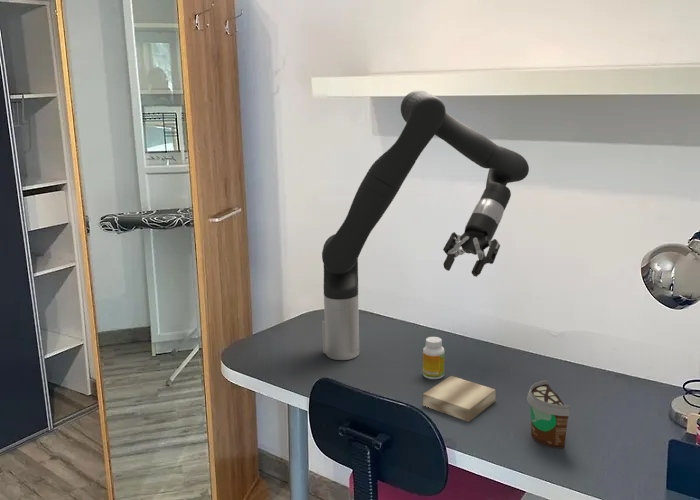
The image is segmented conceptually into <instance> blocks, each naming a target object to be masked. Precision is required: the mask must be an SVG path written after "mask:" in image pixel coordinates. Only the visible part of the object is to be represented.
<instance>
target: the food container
mask: <svg viewBox="0 0 700 500" xmlns="http://www.w3.org/2000/svg"><path fill="white" fill-rule="evenodd" d="M526 401H527V403H528V404H529V405H530V433H531V437H532V438H533V440H535V442H537V443H539V444H541V445H543V446H547V447H549V448H550V447H551V448H556V449H563V448H565V445H566V436H567V428H568V420H569V417H570V416H571V414H570V413H571V411H570V410H571V409H570V405H569V404H564V402H563V400H561V398H560V396H559V395H558V393H556V392H555V391H554V390H553V389H552V388H551V386H550V385H549V380H548V379H547V380H541V381H538V382H535V383H533V384H532V385H531V387H530V389H529V391H528V393H527V397H526Z"/></svg>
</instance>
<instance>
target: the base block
mask: <svg viewBox="0 0 700 500" xmlns="http://www.w3.org/2000/svg"><path fill="white" fill-rule="evenodd" d="M496 391H497V390H496V389H495V388H492V387H490V386H485V385H482V384H479V383H476V382H472V381H469V380H466V379H463V378H460V377H456V376H453V375H450V376H449V377H447V378H445V379H444V380H441V382H439V383H438V384H435V385H434V386H433V387H432V388H430V389H429V390H427V391H424V392H423V394H422V406H423V407H425V406H426V408H428V407H429V409H432V410H435V411H438V412H440V413H443V414H446V415H449V416H450V417H451V416H452V417H455V418H456V419H460V420H462V421H464V422H468V423H469V422H471V421H472V420H473V419H475V417H477V416H478V415H479V414H481V413H482V412H484V411H485V410H486V409H488V408H489V407H490V406H491V405H492V404H494V403H496V395H497V394H496V393H497V392H496Z"/></svg>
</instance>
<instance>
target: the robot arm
mask: <svg viewBox="0 0 700 500" xmlns="http://www.w3.org/2000/svg"><path fill="white" fill-rule="evenodd" d="M400 113H401V117H402V119H403V120H404V121H405V123H406V124H405V126H404V128H403V129H402V131H401V133H400V135H399V136H398V138H397V140H396V141H395V142H394V144H392V145H391V147H389V149H387V150H386V151H385V152H384V153H383V154H382V155H380V156H379V157H378V158H377V159H376V160H375V161H374V162H373V163H372V165H371V166H370V168H369V169H368V171H367V172H366V174H365V176H364V178H363V179H362V181H361V183H360V185H359V186H358V187H357V191H356V193H355V195H354V197H353V200H352V203H351V205H350V206H349V209H348V212H347V215H346V217H345V219H344V220H343V222H342V224H341V226H340V227H339V228H338V230H337V231H336V233H334V234H332V235H330V236H329V237H328V238H327V239H326V241H325V242H324V244H323V247H322V252H321V260H322V263H323V307H324V309H323V310H324V314H323V315H324V319H322V321H321V327H322V328H321V330H322V333H321V334H322V335H321V336H322V337H321V338H322V353H323V354H325V355H326V357H328V358H329V359H331V360H335V361H347V360H352V359H355V358H357V357H358V356H359V355H360V325H359V324H360V320H359V319H360V315H359V311H360V310H359V256H360V254H361V252H362V250H363V248H364V246H365V244H366V241H367V240H368V237H369V235H370V234H371V233H372V231H373V229H374V228H375V227H376V225H377V224H378V223H379V221H380V220H381V218H382V217H383V216H384V214H385V213H386V211H387V210H388V209H389V207H390V205H391V203H392V202H393V201H394V199H395V197H396V196H397V194H398V192H399V191H400V189H401V187H402V186H403V184H404V182H405V180H406V179H407V177H408V175H409V173H410V172H411V171H412V169H413V167H414V166H415V163H416V162H417V160H418V159H419V157H420V155H421V153H423V151H424V149H425V148H427V146H428V144H429V143H430V142H431V140H432V139H433V138H434V137H437V138H439V139H441V140H443V141H444V142H445V143H446V144H448V145H449V146H450V147H452V148H453V149H455V151H458V152H459V153H460V154H462V156H464V157H466V158H467V159H468V160H470V161H471V162H472V163H475V164H476V165H477V166H480V167H481V168H484V169H488V174H487V178H486V183H485V189H484V190H483V193H482V195H481V196H480V199H479V201H478V202H477V204H476V205H475V207H474V209H473V211H472V212H471V214H470V217H469V219H468V221H467V222H466V224H465V228H464V232H463V233H462V234H461V235H459V234H457V233H456V232H452V233H451V235H450V236H449V238H448V239H447V242H446V243H445V245H444V247H443V249H442V250H443V252H444V253H445V255H446V258H445V259H444V262H443V264H442V265H443V268H444V269H445V270H446V271H447V272H448V271H450V270H451V269H452V267H453V264H454V263H455V259H456V258H458V257H459V256H463V255H465V254H468V255H469V254H472V255H477V258H478V259H477V260H476V261H475V264H474V265H473V267H472V270H471V274H472V276H473V277H477V278H478V276H479V275H481V273H482V270H483V269H484V267H485V266H486V265H487V264H490V265H492V264H494V262H495V260H496V257H497V255H498V254H499V253H498V252H499V250H500V247H501V244H500V243H499V242H498V240H497V239H495V238H494V235H495V233H496V231H497V230H498V227H499V226H500V223H501V221H502V219H503V216H504V212H505V210H506V208H507V206H508V203H509V202H510V200H511V196H512V193H511V190H510V188H509V187H508V186H507V185H508V184H510V183H515V182H520V181H523V180H524V179H525V178H527V176H528V175H529V172H530V171H529V170H530V166H529V163H528V161H527V160H526V159H525V157H524V156H522V155H521V154H520V153H518V152H516V151H513V150H511V149H509V148H507V147H503V146H501V145H497V144H496V143H495V142H493V141H492V140H491V139H489V138H488V137H486V136H484V135H483V134H482V133H480V132H479V131H476V130H475V129H473V128H472V127H470V126H468V125H466V124H464V123H463V122H461V121H460V120H458V119H456V118H455V117H453V116H452V115H450V114H449V113H448V112H447V111H446V106H445V104H444V102H443V100H441V99H440V98H439V97H437V96H436V95H433V94H432V93H430V92H427V91H425V90H414V91H410V92H408V94H406V95H405V96H404V97H403V99H402V102H401V104H400ZM493 238H494V239H493ZM460 248H461V249H460ZM487 248H488V250H487V252H485V250H486V249H487Z"/></svg>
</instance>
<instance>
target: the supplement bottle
mask: <svg viewBox="0 0 700 500" xmlns="http://www.w3.org/2000/svg"><path fill="white" fill-rule="evenodd" d="M445 352H446V351H445V348H444V347H443V340H442V338H440V337H439V336H427V337H426V339H425V346H424V347H423V349H422V375H423V377H424V378H426V379H429V380H440V379H442V378H443V377H444V376H445Z"/></svg>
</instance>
